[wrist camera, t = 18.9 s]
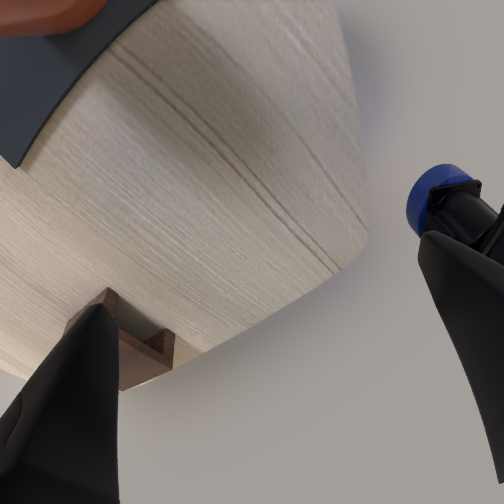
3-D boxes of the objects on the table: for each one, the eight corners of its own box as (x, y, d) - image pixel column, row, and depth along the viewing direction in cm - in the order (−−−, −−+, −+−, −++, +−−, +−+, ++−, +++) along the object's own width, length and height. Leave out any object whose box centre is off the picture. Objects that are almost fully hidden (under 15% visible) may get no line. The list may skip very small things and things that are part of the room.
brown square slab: (175, 334, 27) (172, 369, 24) (127, 360, 30) (122, 391, 27) (108, 286, 23) (96, 323, 20) (67, 322, 26) (56, 354, 22)
